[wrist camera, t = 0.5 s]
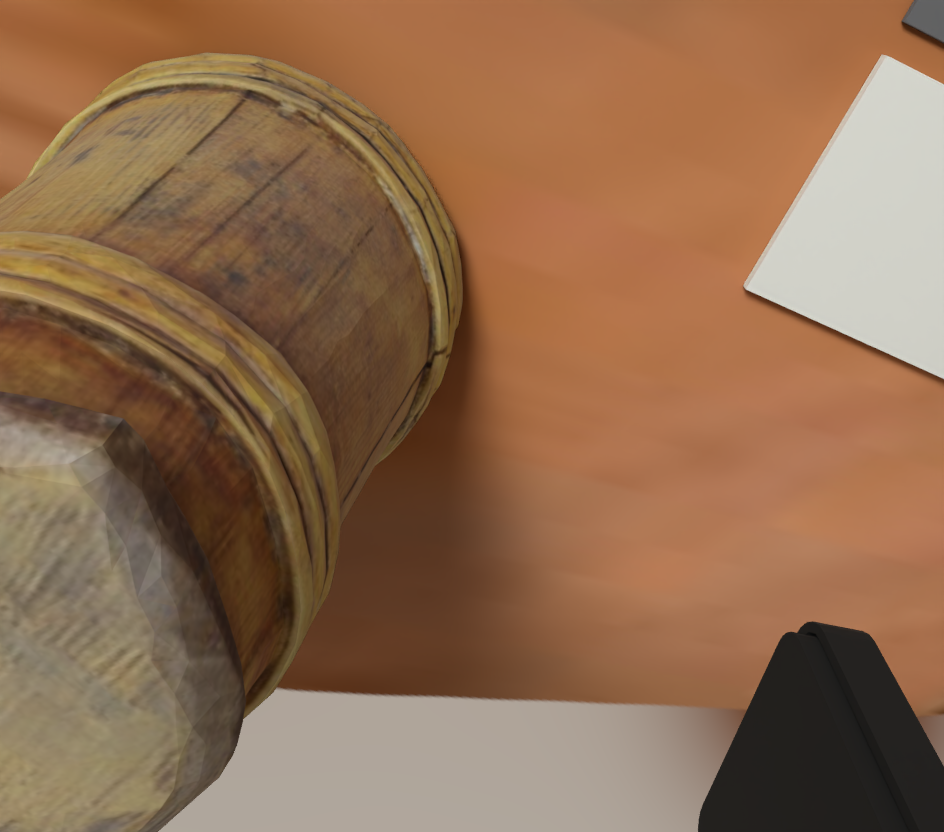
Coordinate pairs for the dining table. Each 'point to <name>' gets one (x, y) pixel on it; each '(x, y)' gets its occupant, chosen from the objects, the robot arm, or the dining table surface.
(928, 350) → the white tile with strip
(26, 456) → the tankard
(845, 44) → the dining table surface
